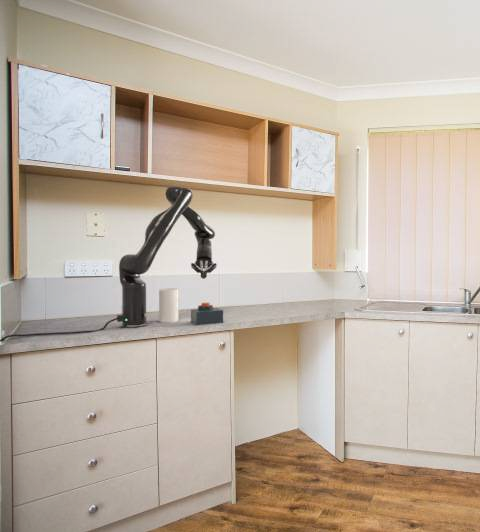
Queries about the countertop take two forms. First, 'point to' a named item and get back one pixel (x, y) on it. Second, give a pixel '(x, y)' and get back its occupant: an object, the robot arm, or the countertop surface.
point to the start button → (205, 304)
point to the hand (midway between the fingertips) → (203, 277)
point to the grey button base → (206, 315)
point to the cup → (168, 305)
